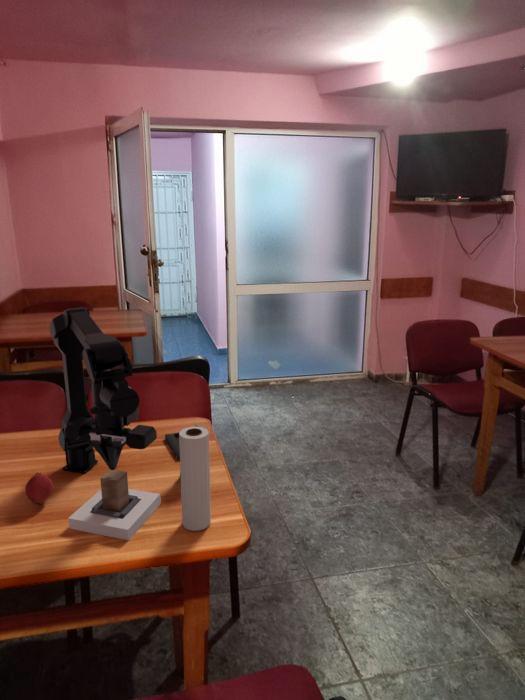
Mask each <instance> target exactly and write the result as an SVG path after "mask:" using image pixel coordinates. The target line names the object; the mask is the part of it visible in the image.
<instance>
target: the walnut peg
mask: <svg viewBox="0 0 525 700" xmlns="http://www.w3.org/2000/svg"><path fill="white" fill-rule="evenodd" d="M99 478H100V480H99V481H100V488H101V489H100V490H101V492H102V504H103V510H108V511H114V512H119V513H121V512H122V511H123V510H124V509H125V508H126V507H127V506H128V505H129V493H128V489H129V483H128V482H129V481H128V480H129V479H128V471H124V470H120V469H115V470H110V469H109V470H108V471H106V473H105V474H103V475H102V476H101V477H99Z"/></svg>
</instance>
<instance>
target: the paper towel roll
mask: <svg viewBox="0 0 525 700" xmlns="http://www.w3.org/2000/svg"><path fill="white" fill-rule="evenodd" d="M194 424H195V426H189V427H185V428H182V429H181V430H179V432H180V433H179V432H178V433H179V447H180V460H179V470H180V471H179V474H180V473H181V481H180V492H181V493H180V494H181V496H180V497H181V518H182V519H181V521H182V523H181V524H182V527H184V528H185V529H186V530H188V531H193V532H199V531H202V530H205V529H207V528H208V527H209V526H210V525H211V522H212V521H211V519H212V516H211V515H212V514H211V511H212V510H211V474H210V473H211V472H210V471H211V469H210V431H209V429H207V428H206V427H205V426H202V425H200V424H198V423H197V422H195V423H194Z"/></svg>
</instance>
